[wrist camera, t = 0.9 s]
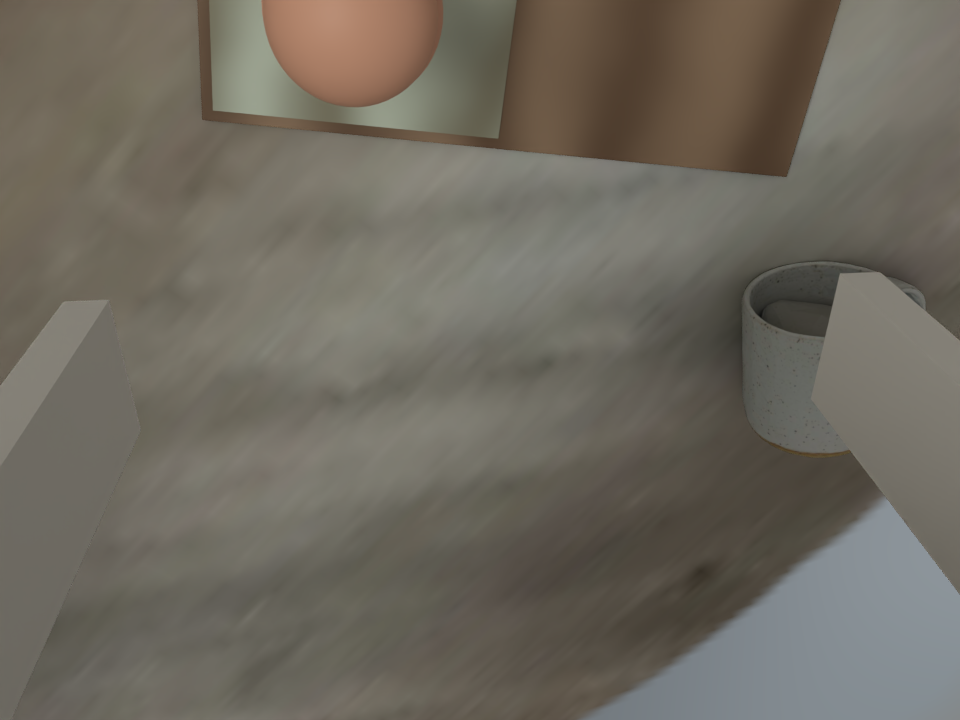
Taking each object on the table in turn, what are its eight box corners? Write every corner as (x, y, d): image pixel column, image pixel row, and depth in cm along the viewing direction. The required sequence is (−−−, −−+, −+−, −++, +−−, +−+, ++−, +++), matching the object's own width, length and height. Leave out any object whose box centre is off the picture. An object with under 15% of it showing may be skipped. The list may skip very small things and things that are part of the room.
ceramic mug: (724, 401, 50) (776, 485, 43) (720, 275, 45) (777, 346, 39) (904, 366, 50) (984, 443, 43) (917, 236, 45) (1007, 300, 39)
